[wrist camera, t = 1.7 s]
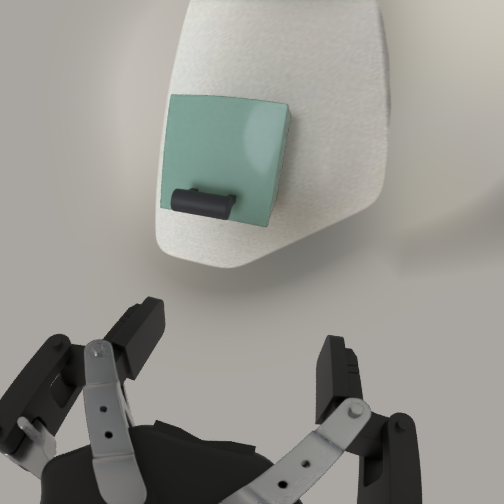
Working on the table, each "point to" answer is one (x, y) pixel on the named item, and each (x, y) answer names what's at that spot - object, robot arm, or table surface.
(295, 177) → the table surface
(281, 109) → the green square slab
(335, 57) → the table surface
